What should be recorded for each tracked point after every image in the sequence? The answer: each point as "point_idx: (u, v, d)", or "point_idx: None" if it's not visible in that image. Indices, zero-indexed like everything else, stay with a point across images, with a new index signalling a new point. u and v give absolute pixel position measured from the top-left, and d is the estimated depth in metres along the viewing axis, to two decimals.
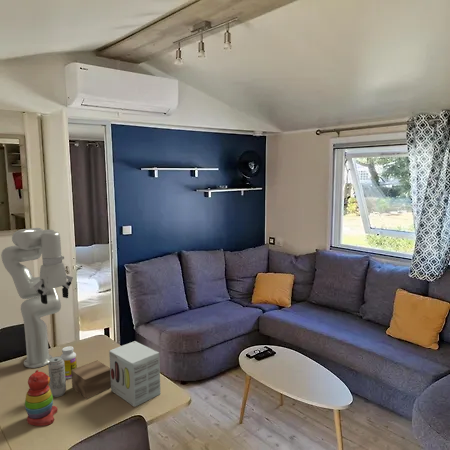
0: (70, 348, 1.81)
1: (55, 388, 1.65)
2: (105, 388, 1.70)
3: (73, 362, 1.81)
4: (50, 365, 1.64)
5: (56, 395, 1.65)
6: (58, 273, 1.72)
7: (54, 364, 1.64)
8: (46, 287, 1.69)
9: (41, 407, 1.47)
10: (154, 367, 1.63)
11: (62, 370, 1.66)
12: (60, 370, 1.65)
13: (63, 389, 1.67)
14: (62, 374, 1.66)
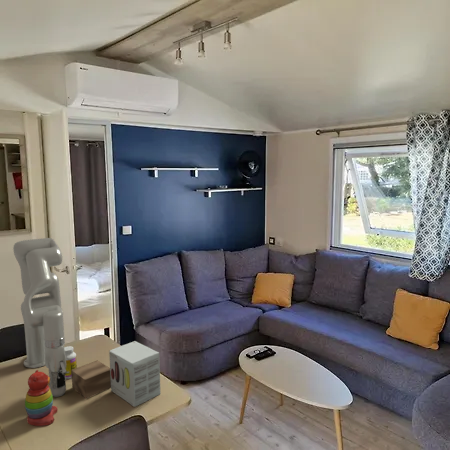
0: (70, 348, 1.81)
1: (55, 388, 1.65)
2: (105, 388, 1.70)
3: (73, 362, 1.81)
4: None
5: (56, 395, 1.65)
6: None
7: None
8: (65, 367, 1.65)
9: (41, 407, 1.47)
10: (154, 367, 1.63)
11: None
12: None
13: (63, 389, 1.67)
14: None
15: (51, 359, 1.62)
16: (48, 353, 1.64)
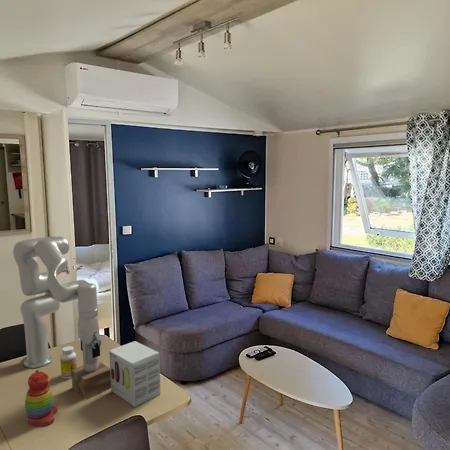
0: (70, 348, 1.81)
1: (89, 363, 1.68)
2: (105, 388, 1.70)
3: (73, 362, 1.81)
4: None
5: (90, 370, 1.69)
6: None
7: None
8: None
9: (41, 407, 1.47)
10: (154, 367, 1.63)
11: None
12: None
13: (96, 365, 1.70)
14: None
15: (85, 330, 1.66)
16: (82, 325, 1.67)
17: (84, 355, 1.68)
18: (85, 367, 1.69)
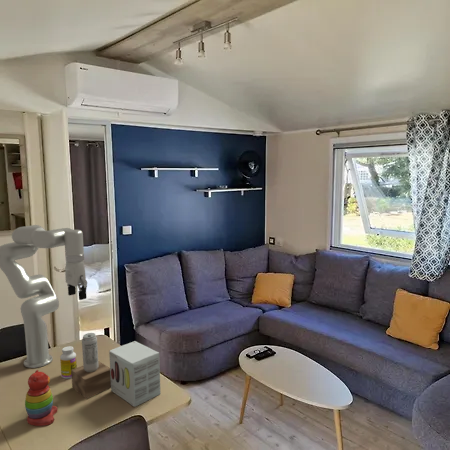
0: (70, 348, 1.81)
1: (89, 363, 1.68)
2: (105, 388, 1.70)
3: (73, 362, 1.81)
4: (84, 341, 1.68)
5: (90, 370, 1.69)
6: None
7: (88, 339, 1.67)
8: None
9: (41, 407, 1.47)
10: (154, 367, 1.63)
11: (95, 346, 1.69)
12: (93, 346, 1.68)
13: (96, 364, 1.70)
14: (95, 350, 1.70)
15: (72, 273, 1.73)
16: (69, 269, 1.75)
17: (84, 355, 1.68)
18: (85, 367, 1.69)
